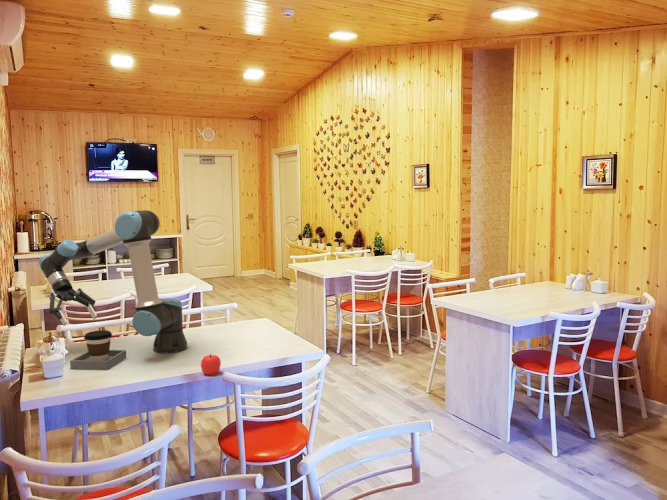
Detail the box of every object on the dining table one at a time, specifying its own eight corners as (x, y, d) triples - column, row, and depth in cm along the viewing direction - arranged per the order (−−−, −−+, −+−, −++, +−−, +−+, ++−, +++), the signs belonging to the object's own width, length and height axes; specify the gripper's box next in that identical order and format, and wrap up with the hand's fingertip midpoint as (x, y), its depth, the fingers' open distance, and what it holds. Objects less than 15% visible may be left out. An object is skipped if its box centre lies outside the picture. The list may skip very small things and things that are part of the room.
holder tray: (91, 357, 240) (91, 349, 239) (126, 358, 238) (125, 350, 238) (70, 369, 224) (70, 360, 224) (107, 369, 222) (107, 361, 222)
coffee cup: (79, 363, 227) (78, 335, 226) (97, 356, 238) (95, 329, 237) (102, 365, 225) (100, 337, 223) (118, 357, 235) (117, 330, 234)
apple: (196, 375, 215) (196, 355, 214) (208, 369, 222) (207, 350, 221) (214, 377, 212) (213, 357, 211) (225, 371, 219) (224, 352, 218)
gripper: (83, 285, 255) (104, 320, 248) (29, 293, 235) (49, 332, 228) (89, 274, 252) (110, 310, 245) (34, 282, 232) (54, 321, 224)
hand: (80, 320), depth 236 cm, fingers open, 13 cm apart
